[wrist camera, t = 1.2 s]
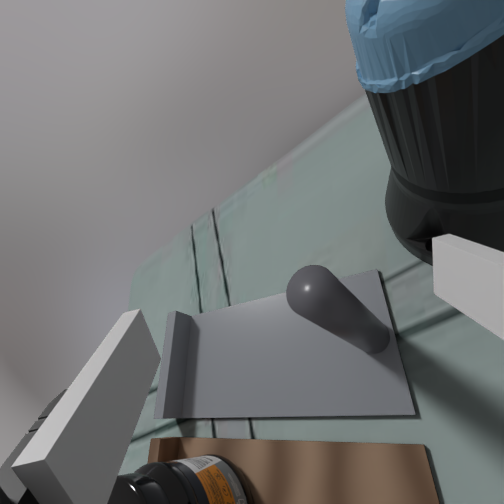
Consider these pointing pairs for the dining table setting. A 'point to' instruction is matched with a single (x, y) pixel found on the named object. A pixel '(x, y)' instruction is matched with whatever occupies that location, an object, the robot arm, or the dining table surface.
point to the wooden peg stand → (316, 469)
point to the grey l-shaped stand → (287, 354)
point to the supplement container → (184, 483)
